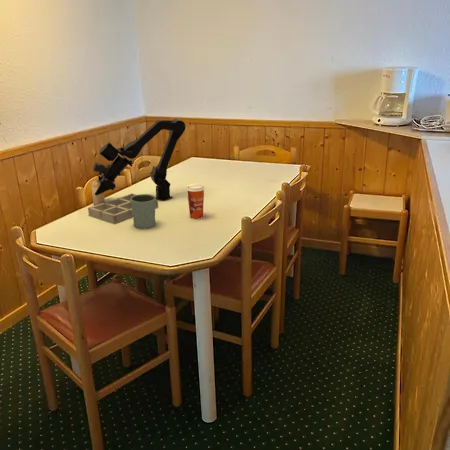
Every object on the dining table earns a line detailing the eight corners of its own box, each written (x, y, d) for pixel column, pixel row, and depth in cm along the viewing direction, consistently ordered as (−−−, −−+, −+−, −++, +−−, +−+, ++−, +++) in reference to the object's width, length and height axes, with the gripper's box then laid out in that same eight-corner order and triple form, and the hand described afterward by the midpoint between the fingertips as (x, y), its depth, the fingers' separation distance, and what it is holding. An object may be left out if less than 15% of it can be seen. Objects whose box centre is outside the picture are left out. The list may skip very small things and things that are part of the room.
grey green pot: (135, 220, 187) (133, 193, 183) (159, 220, 187) (157, 193, 182) (130, 229, 178) (127, 201, 173) (155, 229, 177) (153, 201, 173)
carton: (158, 207, 202) (157, 200, 201) (114, 224, 184) (113, 215, 182) (132, 200, 212) (131, 193, 211) (88, 215, 194) (87, 207, 192)
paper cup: (191, 221, 186) (190, 189, 181) (185, 215, 192) (183, 184, 187) (208, 217, 189) (207, 186, 184) (201, 212, 196) (200, 182, 191)
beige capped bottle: (107, 205, 205) (104, 180, 201) (98, 208, 202) (95, 182, 197) (100, 203, 208) (97, 178, 204) (91, 206, 205) (88, 180, 200)
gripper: (100, 152, 206) (78, 177, 206) (105, 160, 190) (81, 188, 190) (119, 167, 211) (98, 191, 212) (125, 176, 195) (102, 203, 196)
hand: (94, 193), depth 202 cm, fingers closed on beige capped bottle, 5 cm apart
